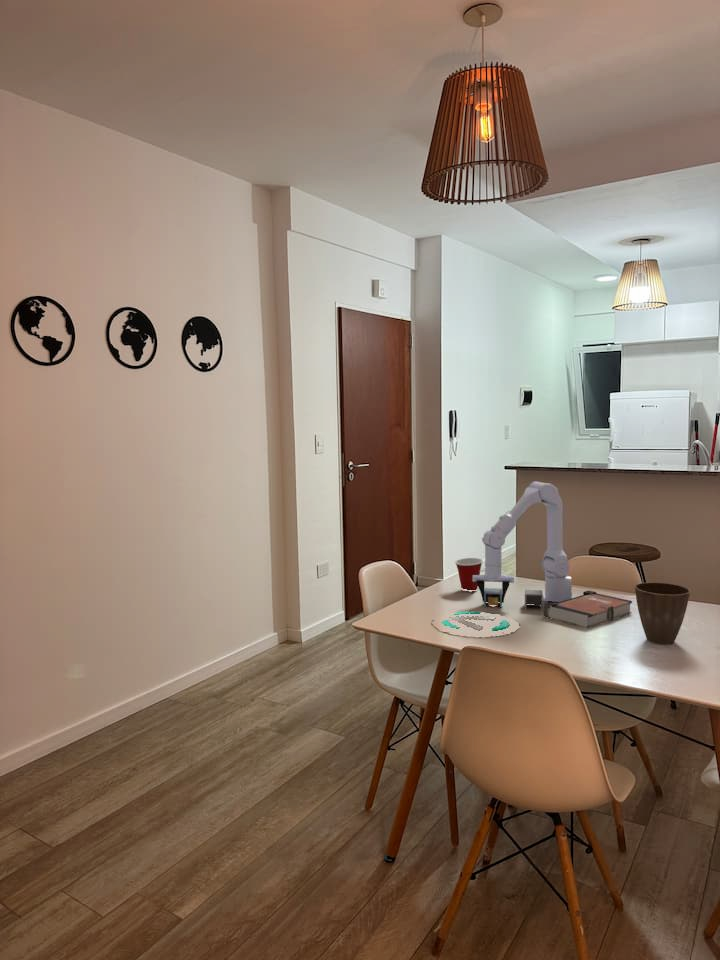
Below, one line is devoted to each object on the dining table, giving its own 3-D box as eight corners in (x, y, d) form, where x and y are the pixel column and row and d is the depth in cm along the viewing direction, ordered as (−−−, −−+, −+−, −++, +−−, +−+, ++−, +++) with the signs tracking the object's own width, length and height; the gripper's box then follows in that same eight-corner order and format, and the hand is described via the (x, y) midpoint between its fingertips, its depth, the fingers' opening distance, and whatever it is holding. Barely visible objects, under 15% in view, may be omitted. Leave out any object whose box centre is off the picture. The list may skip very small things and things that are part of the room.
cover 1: (501, 603, 244) (501, 588, 244) (501, 608, 238) (501, 593, 238) (485, 602, 246) (485, 588, 245) (484, 607, 240) (484, 592, 239)
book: (589, 630, 214) (589, 614, 214) (543, 618, 228) (543, 603, 227) (633, 614, 230) (634, 600, 230) (588, 603, 244) (588, 590, 243)
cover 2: (542, 605, 241) (542, 590, 241) (542, 610, 235) (542, 594, 235) (524, 604, 242) (524, 589, 242) (524, 609, 237) (525, 594, 236)
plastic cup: (451, 587, 268) (450, 558, 267) (477, 586, 270) (477, 556, 269) (459, 594, 257) (459, 563, 256) (486, 593, 259) (487, 562, 258)
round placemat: (452, 609, 240) (452, 605, 240) (530, 620, 226) (530, 615, 226) (417, 631, 216) (417, 626, 216) (502, 644, 202) (502, 639, 202)
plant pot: (642, 629, 212) (643, 579, 211) (694, 639, 203) (695, 586, 201) (626, 642, 201) (627, 589, 199) (680, 652, 191) (682, 597, 190)
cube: (498, 604, 243) (498, 595, 243) (497, 607, 240) (498, 597, 240) (488, 604, 244) (488, 594, 244) (487, 606, 241) (487, 597, 240)
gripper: (472, 566, 238) (472, 603, 240) (514, 567, 235) (513, 605, 236) (473, 561, 245) (473, 598, 246) (514, 563, 242) (513, 600, 243)
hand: (493, 601), depth 242 cm, fingers closed on cover 1, 6 cm apart
